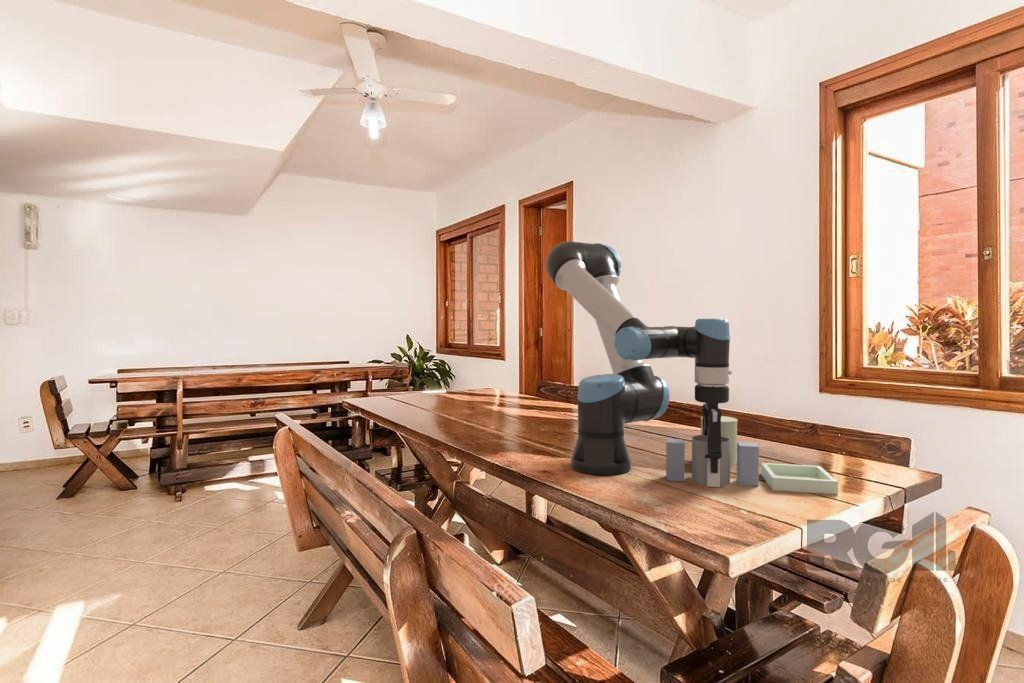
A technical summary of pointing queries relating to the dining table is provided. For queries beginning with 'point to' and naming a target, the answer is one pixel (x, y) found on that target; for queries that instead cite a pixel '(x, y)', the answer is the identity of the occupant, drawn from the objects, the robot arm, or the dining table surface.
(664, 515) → the dining table surface
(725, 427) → the can
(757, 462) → the block
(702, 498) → the dining table surface
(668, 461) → the block
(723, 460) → the cup
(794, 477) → the tray
